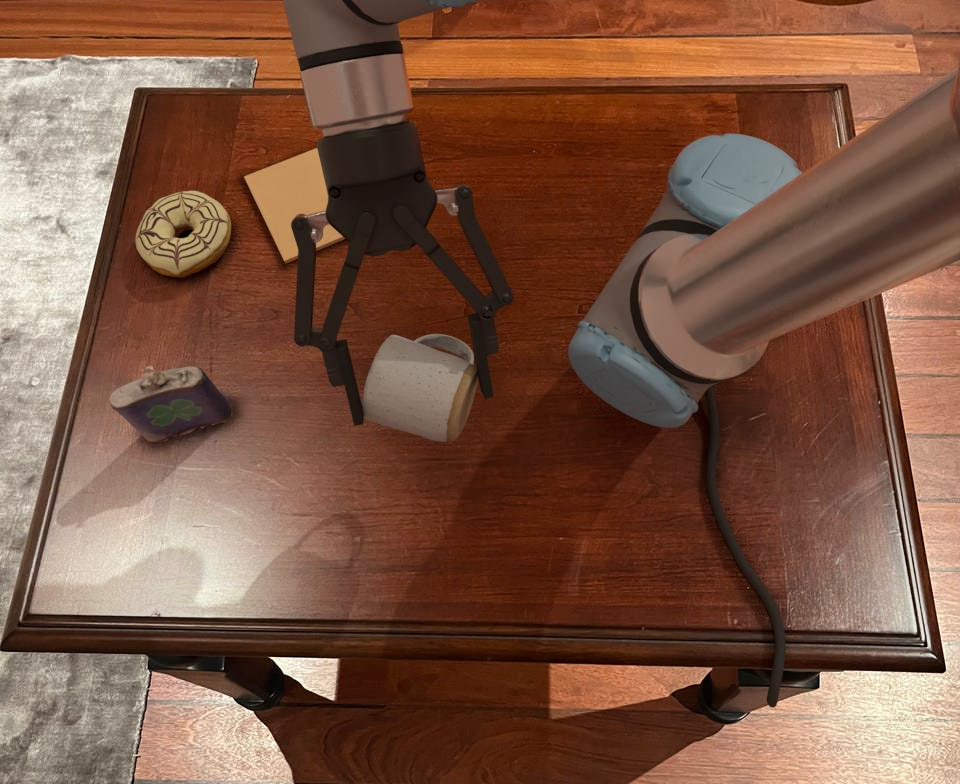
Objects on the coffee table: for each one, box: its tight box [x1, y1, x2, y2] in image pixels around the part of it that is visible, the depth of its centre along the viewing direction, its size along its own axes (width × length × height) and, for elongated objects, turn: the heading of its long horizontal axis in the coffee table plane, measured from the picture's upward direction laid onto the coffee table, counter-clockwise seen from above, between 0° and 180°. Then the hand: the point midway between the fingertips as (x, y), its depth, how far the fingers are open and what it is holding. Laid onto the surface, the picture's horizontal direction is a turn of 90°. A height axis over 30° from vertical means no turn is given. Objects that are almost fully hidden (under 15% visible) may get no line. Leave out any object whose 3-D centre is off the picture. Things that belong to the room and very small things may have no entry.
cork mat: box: [243, 147, 346, 265], centre depth 95 cm, size 14×14×1 cm
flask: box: [108, 365, 234, 443], centre depth 79 cm, size 9×3×11 cm, turn 109°
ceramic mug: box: [361, 333, 479, 443], centre depth 67 cm, size 11×8×8 cm
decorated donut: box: [135, 190, 232, 278], centre depth 92 cm, size 10×11×4 cm
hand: (423, 405), depth 66 cm, fingers closed on ceramic mug, 10 cm apart
